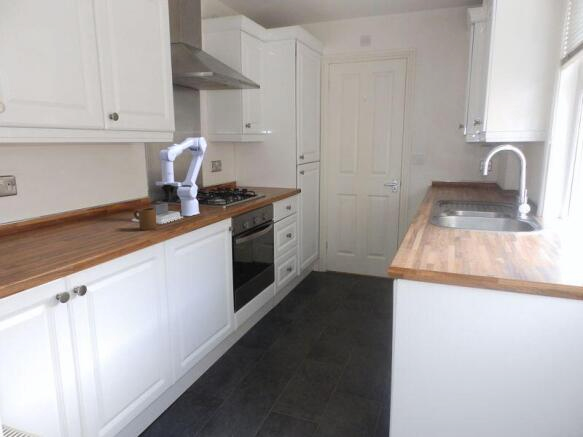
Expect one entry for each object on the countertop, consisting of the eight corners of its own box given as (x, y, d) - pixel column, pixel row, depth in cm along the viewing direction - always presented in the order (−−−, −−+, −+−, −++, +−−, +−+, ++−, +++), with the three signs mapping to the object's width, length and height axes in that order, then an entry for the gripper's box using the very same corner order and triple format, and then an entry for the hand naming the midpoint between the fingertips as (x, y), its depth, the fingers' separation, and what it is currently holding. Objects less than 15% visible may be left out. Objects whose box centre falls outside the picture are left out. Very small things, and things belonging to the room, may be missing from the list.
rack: (154, 215, 227) (153, 209, 226) (183, 218, 218) (182, 211, 218) (131, 221, 213) (131, 214, 212) (161, 224, 204) (161, 217, 204)
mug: (129, 229, 193) (127, 209, 191) (141, 226, 200) (139, 207, 198) (148, 231, 188) (147, 211, 186) (160, 228, 195) (158, 208, 193)
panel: (165, 216, 219) (164, 203, 218) (168, 216, 218) (167, 203, 217) (153, 219, 211) (152, 205, 210) (156, 219, 210) (155, 206, 209)
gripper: (151, 173, 211) (152, 199, 213) (173, 174, 205) (175, 201, 207) (161, 172, 217) (162, 198, 219) (182, 173, 211) (184, 199, 213)
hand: (169, 199), depth 214 cm, fingers closed
